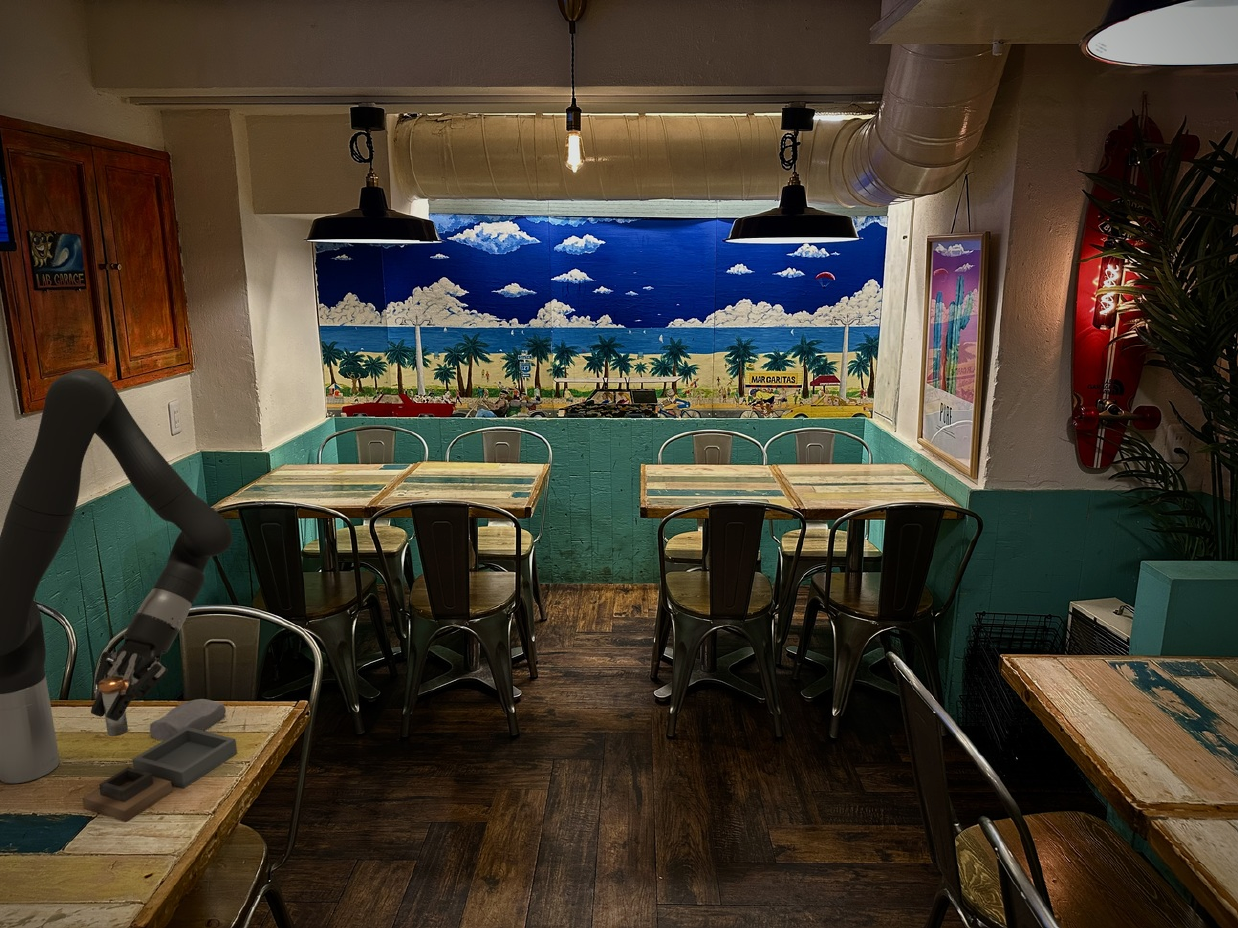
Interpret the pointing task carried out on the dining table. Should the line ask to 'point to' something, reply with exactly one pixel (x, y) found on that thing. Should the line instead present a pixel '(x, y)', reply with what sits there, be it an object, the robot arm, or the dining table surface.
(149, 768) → the tray
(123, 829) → the dining table surface
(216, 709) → the stone block
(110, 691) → the pin
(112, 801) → the bracket
